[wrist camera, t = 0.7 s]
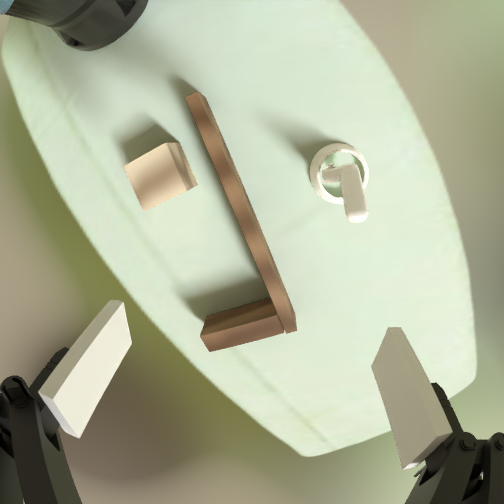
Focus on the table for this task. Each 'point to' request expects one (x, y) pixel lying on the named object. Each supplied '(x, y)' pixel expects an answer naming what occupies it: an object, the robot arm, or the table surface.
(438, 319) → the table surface
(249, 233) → the guide rail
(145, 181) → the beige wooden block
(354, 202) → the hook
